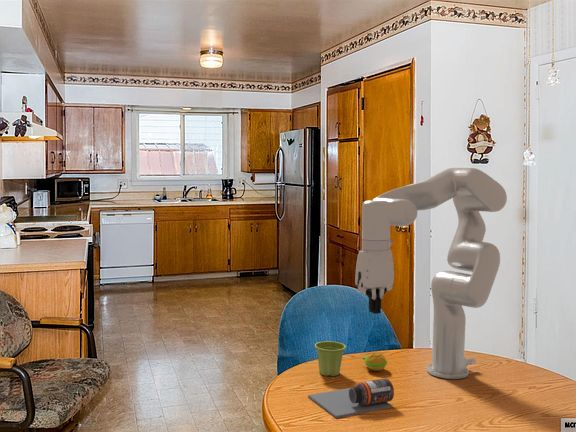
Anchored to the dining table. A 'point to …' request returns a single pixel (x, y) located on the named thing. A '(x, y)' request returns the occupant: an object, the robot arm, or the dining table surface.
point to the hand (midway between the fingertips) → (374, 312)
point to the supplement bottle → (372, 392)
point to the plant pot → (329, 357)
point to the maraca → (375, 361)
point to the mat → (343, 403)
